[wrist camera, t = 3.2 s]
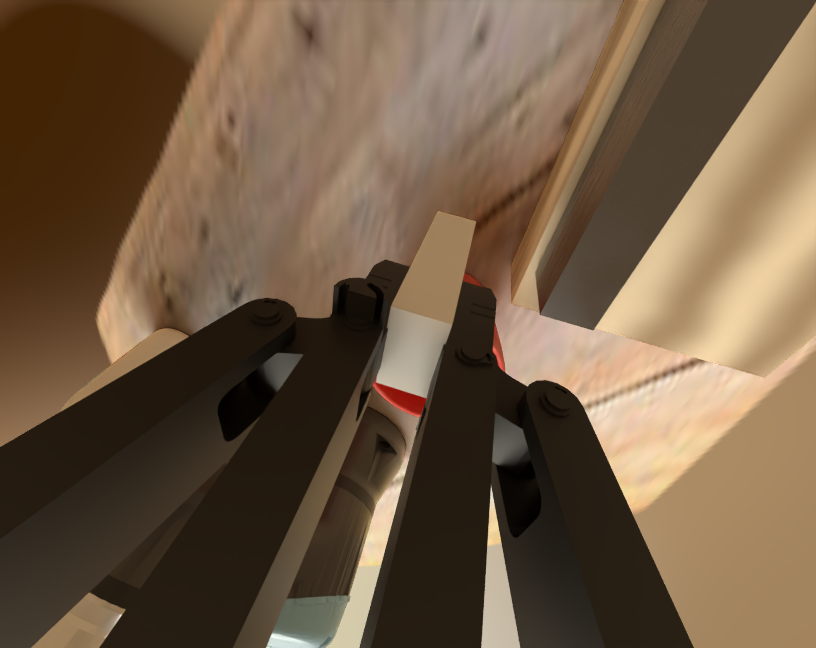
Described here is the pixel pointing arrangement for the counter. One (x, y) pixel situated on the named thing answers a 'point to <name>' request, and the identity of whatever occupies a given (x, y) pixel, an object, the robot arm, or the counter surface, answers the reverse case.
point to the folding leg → (659, 143)
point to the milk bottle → (131, 361)
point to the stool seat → (709, 217)
